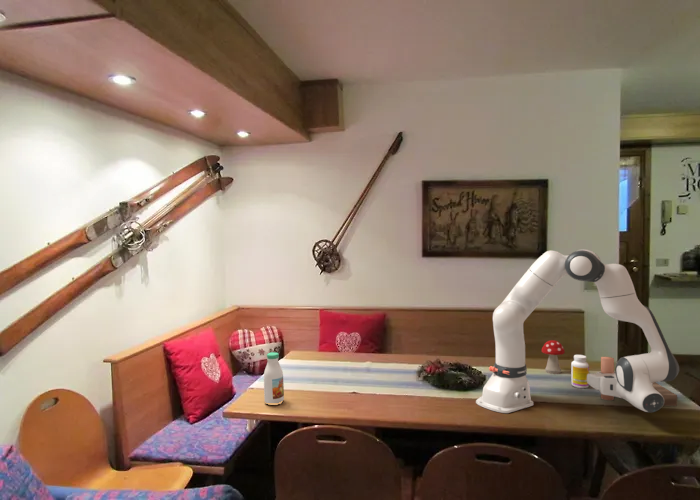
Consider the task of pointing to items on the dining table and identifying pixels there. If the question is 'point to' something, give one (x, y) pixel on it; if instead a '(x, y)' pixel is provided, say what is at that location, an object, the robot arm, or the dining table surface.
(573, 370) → the supplement bottle
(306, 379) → the dining table surface
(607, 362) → the peg
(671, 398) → the socket
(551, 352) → the decorative mushroom
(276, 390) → the milk bottle
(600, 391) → the robot arm
